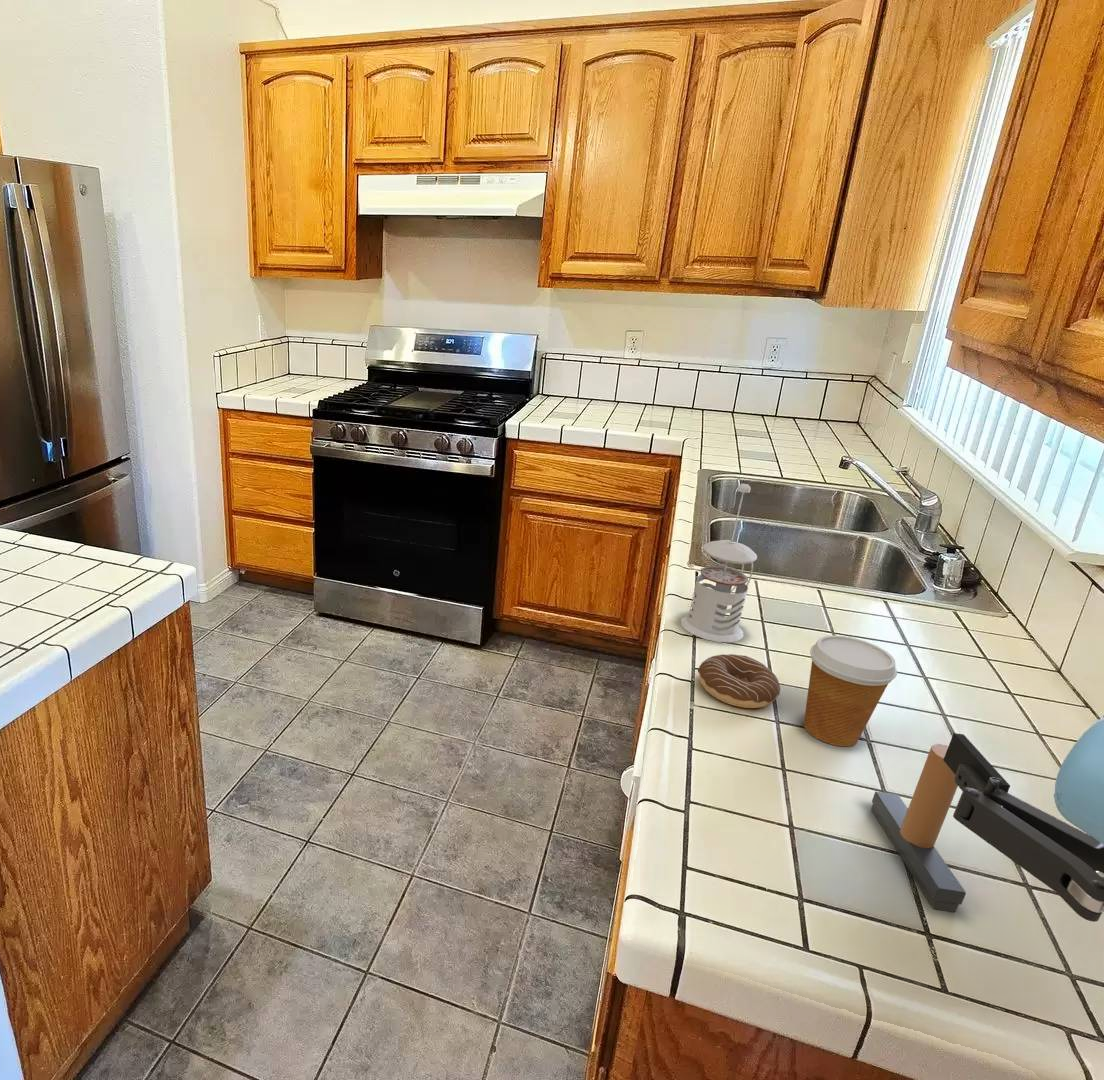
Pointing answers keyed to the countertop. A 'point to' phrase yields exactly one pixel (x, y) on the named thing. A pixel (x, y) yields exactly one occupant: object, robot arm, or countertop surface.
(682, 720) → the countertop surface
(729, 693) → the donut
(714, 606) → the french press
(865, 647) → the disposable coffee cup
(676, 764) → the countertop surface
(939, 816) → the squeegee
